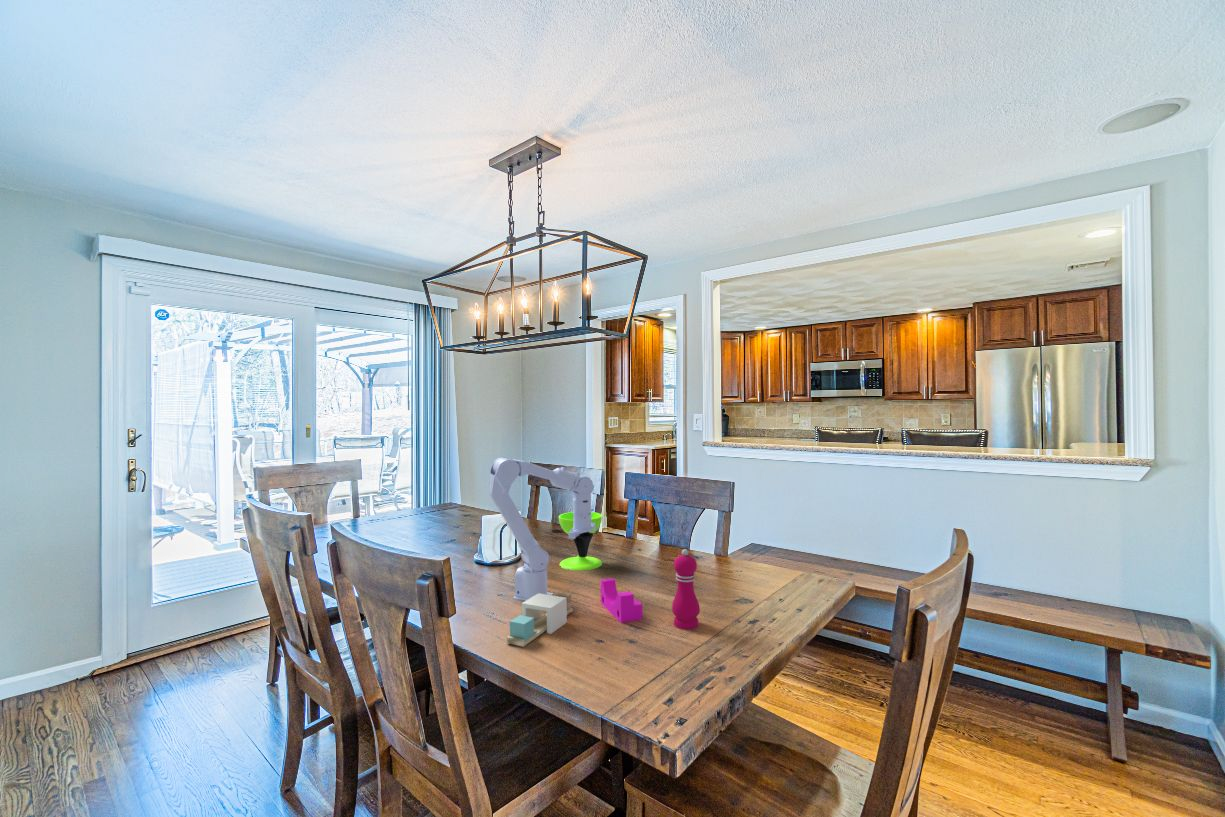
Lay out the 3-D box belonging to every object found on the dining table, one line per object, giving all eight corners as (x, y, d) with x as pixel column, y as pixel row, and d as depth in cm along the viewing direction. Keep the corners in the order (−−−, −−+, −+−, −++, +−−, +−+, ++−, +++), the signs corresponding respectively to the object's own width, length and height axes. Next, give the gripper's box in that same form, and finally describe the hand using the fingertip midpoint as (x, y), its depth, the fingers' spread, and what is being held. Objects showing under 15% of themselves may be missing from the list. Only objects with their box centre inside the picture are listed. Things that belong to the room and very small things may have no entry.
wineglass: (602, 571, 185) (601, 520, 185) (556, 571, 186) (555, 520, 186) (603, 558, 201) (602, 511, 201) (561, 558, 202) (560, 511, 202)
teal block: (510, 638, 129) (509, 621, 129) (520, 631, 132) (519, 615, 132) (524, 641, 127) (524, 624, 127) (534, 634, 131) (533, 617, 131)
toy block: (642, 620, 142) (642, 593, 142) (621, 624, 140) (620, 596, 140) (620, 602, 156) (620, 576, 156) (601, 605, 154) (600, 579, 154)
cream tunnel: (521, 629, 137) (521, 603, 137) (538, 618, 144) (538, 593, 144) (550, 635, 133) (550, 608, 133) (566, 623, 141) (566, 597, 141)
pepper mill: (682, 633, 133) (681, 554, 133) (666, 623, 140) (665, 547, 140) (705, 627, 137) (704, 550, 137) (689, 618, 143) (688, 544, 143)
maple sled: (506, 643, 128) (506, 623, 128) (557, 608, 150) (557, 591, 150) (523, 646, 126) (523, 626, 126) (572, 611, 148) (572, 594, 148)
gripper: (582, 519, 159) (583, 564, 159) (603, 510, 172) (604, 552, 172) (562, 517, 162) (562, 561, 162) (584, 508, 175) (585, 549, 175)
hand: (582, 556), depth 167 cm, fingers closed
